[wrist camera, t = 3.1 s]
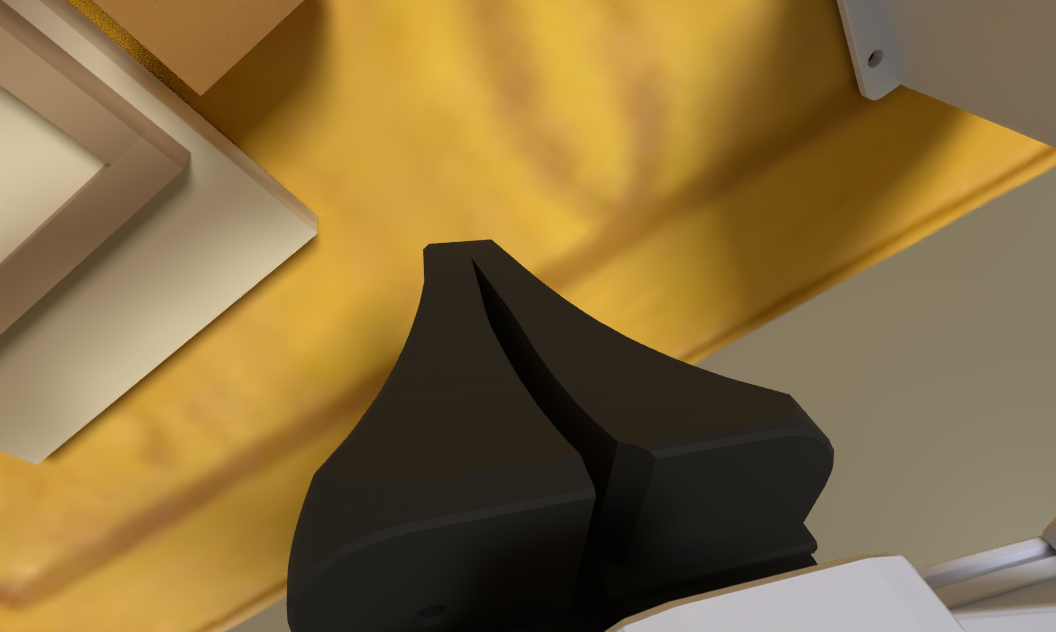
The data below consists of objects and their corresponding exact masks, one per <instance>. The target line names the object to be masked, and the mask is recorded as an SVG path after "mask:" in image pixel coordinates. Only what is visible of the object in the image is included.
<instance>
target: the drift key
mask: <svg viewBox="0 0 1056 632" xmlns="http://www.w3.org/2000/svg"><path fill="white" fill-rule="evenodd" d="M92 1H93V2H94V3H96V4H97V5H98V6H99V7H100V8H101V9H102V10H103V11H105V12H106V13H107V14H108V15H109V16H110V17H111V18H113V19H114V20H115V21H116V22H117V23H118V24H119V25H120V26H122V27H123V28H124V29H125V30H126V31H127V32H128V33H129V34H131V35H132V36H133V37H134V38H135V39H136V40H137V41H139V42H140V43H141V44H142V45H143V46H144V47H145V48H146V49H148V50H149V51H150V52H151V53H152V54H153V55H154V56H156V57H157V58H158V59H159V60H160V61H161V62H162V63H163V64H165V65H166V66H167V67H168V68H169V69H170V70H171V71H172V72H174V73H175V74H176V75H177V76H178V77H179V78H180V79H182V80H183V81H184V82H185V83H186V84H187V85H188V86H189V87H191V88H192V89H193V90H194V91H195V92H196V93H197V94H198V95H200V96H201V95H203V94H204V93H205V92H206V91H207V90H208V89H209V88H210V87H211V86H212V85H213V84H214V83H215V82H217V81H218V80H219V79H220V78H221V77H222V76H223V75H224V74H225V73H226V72H227V71H228V70H229V69H231V68H232V67H233V66H234V65H235V64H236V63H237V62H238V61H239V60H240V59H241V58H242V57H243V56H245V55H246V54H247V53H248V52H249V51H250V50H251V49H252V48H253V47H254V46H255V45H256V44H258V43H259V42H260V41H261V40H262V39H263V38H264V37H265V36H266V35H267V34H268V33H269V32H270V31H272V30H273V29H274V28H275V27H276V26H277V25H278V24H279V23H280V22H281V21H282V20H283V19H284V18H286V17H287V16H288V15H289V14H290V13H291V12H292V11H293V10H294V9H295V8H296V7H297V6H298V5H300V4H301V3H302V2H303V1H304V0H92Z"/></svg>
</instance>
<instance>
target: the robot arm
mask: <svg viewBox="0 0 1056 632" xmlns="http://www.w3.org/2000/svg"><path fill="white" fill-rule="evenodd" d="M837 4H838V7H839V11H840V15H841V19H842V23H843V27H844V31H845V35H846V39H847V43H848V47H849V51H850V55H851V59H852V63H853V67H854V71H855V75H856V79H857V83H858V87H859V91H860V93H861V95H862V96H864V97H866V98H868V99H870V100H878V99H880V98H882V97H884V96H885V95H886V94H888V93H889V92H891V91H892V90H893V89H895V88H896V87H898V86H899V85H900V84H901V85H903V86H905V87H908V88H910V89H913V90H915V91H918V92H920V93H922V94H925V95H927V96H930V97H932V98H935V99H937V100H940V101H942V102H944V103H947V104H949V105H952V106H954V107H957V108H959V109H962V110H964V111H966V112H969V113H971V114H974V115H976V116H979V117H981V118H984V119H986V120H989V121H991V122H993V123H996V124H998V125H1001V126H1003V127H1006V128H1008V129H1011V130H1013V131H1015V132H1018V133H1020V134H1023V135H1025V136H1028V137H1030V138H1033V139H1035V140H1037V141H1040V142H1042V143H1045V144H1047V145H1050V146H1052V147H1055V148H1056V0H837ZM873 52H874V56H873V58H872V59H871V60H870V61H869V62H868V59H869V57H870V55H871V54H872V53H873ZM423 258H424V285H423V290H422V295H421V299H420V303H419V307H418V310H417V313H416V316H415V319H414V322H413V325H412V328H411V331H410V334H409V336H408V338H407V341H406V343H405V346H404V348H403V350H402V352H401V354H400V356H399V358H398V361H397V363H396V365H395V366H394V368H393V370H392V372H391V374H390V375H389V377H388V379H387V381H386V383H385V384H384V386H383V388H382V389H381V391H380V392H379V394H378V396H377V397H376V399H375V400H374V402H373V403H372V404H371V406H370V407H369V409H368V410H367V411H366V413H365V414H364V415H363V417H362V418H361V420H360V421H359V422H358V424H357V425H356V427H355V428H354V429H353V431H352V432H351V433H350V434H349V436H348V437H347V438H346V439H345V440H344V441H343V443H342V444H341V445H340V446H339V447H338V448H337V449H336V450H335V451H334V453H333V454H332V455H331V456H330V457H329V458H328V459H327V460H326V462H325V463H324V464H323V465H322V466H321V467H320V468H319V469H318V470H317V471H316V473H315V474H314V476H313V479H312V481H311V484H310V487H309V490H308V492H307V495H306V498H305V501H304V504H303V507H302V510H301V513H300V516H299V519H298V523H297V526H296V530H295V534H294V538H293V543H292V548H291V553H290V558H289V565H288V578H287V618H288V624H289V627H290V630H291V632H1056V518H1055V519H1054V520H1053V521H1052V522H1051V523H1050V524H1049V525H1048V526H1047V527H1046V529H1045V530H1044V531H1043V535H1042V536H1038V537H1034V538H1031V539H1027V540H1023V541H1020V542H1016V543H1012V544H1009V545H1005V546H1001V547H997V548H993V549H989V550H985V551H982V552H978V553H974V554H970V555H967V556H963V557H959V558H955V559H952V560H948V561H944V562H940V563H936V564H933V565H929V566H925V567H921V568H918V569H914V567H913V566H912V565H911V564H910V563H909V562H908V561H907V560H906V559H905V558H904V557H903V556H902V555H897V554H892V553H875V554H862V555H855V556H851V557H847V558H843V559H839V560H835V561H831V562H827V563H823V564H819V565H818V564H817V563H816V561H815V560H814V558H813V557H812V556H811V554H812V553H815V551H816V550H817V542H816V540H815V539H814V537H813V536H812V535H811V533H810V532H809V531H808V529H807V528H806V526H805V525H804V523H803V522H804V521H805V519H806V517H807V515H808V514H809V512H810V510H811V509H812V507H813V505H814V504H815V502H816V500H817V499H818V497H819V495H820V493H821V492H822V490H823V488H824V487H825V485H826V483H827V481H828V478H829V476H830V474H831V471H832V468H833V459H834V449H833V447H832V445H831V443H830V441H829V439H828V438H827V437H826V435H825V434H824V433H823V432H822V431H821V430H820V429H819V427H818V426H817V425H816V424H815V423H814V422H813V420H812V419H811V418H810V417H809V416H808V415H807V414H806V412H805V411H804V410H803V409H802V408H801V407H800V405H799V404H798V403H797V402H796V401H795V400H794V399H793V398H792V397H791V396H790V395H789V394H785V393H782V392H778V391H774V390H771V389H767V388H763V387H759V386H756V385H752V384H748V383H745V382H741V381H737V380H734V379H730V378H727V377H724V376H721V375H718V374H715V373H712V372H709V371H707V370H704V369H701V368H698V367H695V366H692V365H690V364H687V363H685V362H682V361H679V360H677V359H674V358H672V357H669V356H667V355H665V354H663V353H660V352H658V351H656V350H654V349H652V348H649V347H647V346H645V345H643V344H640V343H638V342H636V341H634V340H632V339H630V338H628V337H626V336H624V335H622V334H621V333H619V332H617V331H615V330H614V329H612V328H610V327H608V326H606V325H605V324H603V323H601V322H599V321H598V320H596V319H594V318H593V317H591V316H589V315H588V314H586V313H585V312H583V311H582V310H580V309H579V308H577V307H576V306H574V305H573V304H571V303H570V302H568V301H567V300H566V299H564V298H563V297H561V296H560V295H559V294H557V293H556V292H555V291H553V290H552V289H550V288H549V287H548V286H547V285H545V284H544V283H543V282H541V281H540V280H539V279H538V278H536V277H535V276H534V275H533V274H532V273H530V272H529V271H528V270H527V269H525V268H524V267H523V266H522V265H521V264H520V263H518V262H517V261H516V260H515V259H514V258H513V257H511V256H510V255H509V254H508V253H507V252H506V251H504V250H503V249H502V248H501V247H500V246H499V245H497V244H496V243H495V242H494V241H493V240H477V241H463V242H449V243H435V244H428V245H427V246H426V247H425V248H424V249H423Z"/></svg>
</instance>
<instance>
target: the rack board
mask: <svg viewBox="0 0 1056 632" xmlns="http://www.w3.org/2000/svg"><path fill="white" fill-rule="evenodd" d="M316 234H318V216H317V215H316V214H314V213H313V212H312V211H311V210H310V209H309V208H307V207H306V206H305V205H304V204H303V203H302V202H300V201H299V200H298V199H297V198H296V197H295V196H293V195H292V194H291V193H290V192H289V191H288V190H286V189H285V188H284V187H283V186H282V185H281V184H280V183H278V182H277V181H276V180H275V179H274V178H273V177H271V176H270V175H269V174H268V173H267V172H266V171H264V170H263V169H262V168H261V167H260V166H259V165H257V164H256V163H255V162H254V161H253V160H252V159H251V158H249V157H248V156H247V155H246V154H245V153H244V152H242V151H241V150H240V149H239V148H238V147H237V146H235V145H234V144H233V143H232V142H231V141H230V140H228V139H227V138H226V137H225V136H224V135H223V134H221V133H220V132H219V131H218V130H217V129H216V128H215V127H213V126H212V125H211V124H210V123H209V122H208V121H206V120H205V119H204V118H203V117H202V116H201V115H199V114H198V113H197V112H196V111H195V110H194V109H192V108H191V107H190V106H189V105H188V104H187V103H186V102H184V101H183V100H182V99H181V98H180V97H179V96H177V95H176V94H175V93H174V92H173V91H172V90H170V89H169V88H168V87H167V86H166V85H165V84H163V83H162V82H161V81H160V80H159V79H158V78H156V77H155V76H154V75H153V74H152V73H151V72H150V71H148V70H147V69H146V68H145V67H144V66H143V65H141V64H140V63H139V62H138V61H137V60H136V59H134V58H133V57H132V56H131V55H130V54H129V53H127V52H126V51H125V50H124V49H123V48H122V47H121V46H119V45H118V44H117V43H116V42H115V41H114V40H112V39H111V38H110V37H109V36H108V35H107V34H105V33H104V32H103V31H102V30H101V29H100V28H98V27H97V26H96V25H95V24H94V23H93V22H92V21H90V20H89V19H88V18H87V17H86V16H85V15H83V14H82V13H81V12H80V11H79V10H78V9H76V8H75V7H74V6H73V5H72V4H71V3H69V2H68V1H67V0H0V451H1V452H4V453H7V454H9V455H12V456H15V457H17V458H20V459H22V460H25V461H28V462H30V463H33V464H36V465H38V464H39V463H40V462H41V461H43V460H44V459H45V458H46V457H47V456H49V455H50V454H51V453H52V452H53V451H55V450H56V449H57V448H58V447H60V446H61V445H62V444H63V443H64V442H66V441H67V440H68V439H69V438H70V437H72V436H73V435H74V434H75V433H76V432H78V431H79V430H80V429H81V428H83V427H84V426H85V425H86V424H87V423H89V422H90V421H91V420H92V419H93V418H95V417H96V416H97V415H98V414H100V413H101V412H102V411H103V410H104V409H106V408H107V407H108V406H109V405H110V404H112V403H113V402H114V401H115V400H116V399H118V398H119V397H120V396H121V395H123V394H124V393H125V392H126V391H127V390H129V389H130V388H131V387H132V386H133V385H135V384H136V383H137V382H138V381H139V380H141V379H142V378H143V377H144V376H146V375H147V374H148V373H149V372H150V371H152V370H153V369H154V368H155V367H156V366H158V365H159V364H160V363H161V362H163V361H164V360H165V359H166V358H167V357H169V356H170V355H171V354H172V353H173V352H175V351H176V350H177V349H178V348H179V347H181V346H182V345H183V344H184V343H186V342H187V341H188V340H189V339H190V338H192V337H193V336H194V335H195V334H196V333H198V332H199V331H200V330H201V329H202V328H204V327H205V326H206V325H207V324H209V323H210V322H211V321H212V320H213V319H215V318H216V317H217V316H218V315H219V314H221V313H222V312H223V311H224V310H226V309H227V308H228V307H229V306H230V305H232V304H233V303H234V302H235V301H236V300H238V299H239V298H240V297H241V296H242V295H244V294H245V293H246V292H247V291H249V290H250V289H251V288H252V287H253V286H255V285H256V284H257V283H258V282H259V281H261V280H262V279H263V278H264V277H265V276H267V275H268V274H269V273H270V272H272V271H273V270H274V269H275V268H276V267H278V266H279V265H280V264H281V263H282V262H284V261H285V260H286V259H287V258H289V257H290V256H291V255H292V254H293V253H295V252H296V251H297V250H298V249H299V248H301V247H302V246H303V245H304V244H305V243H307V242H308V241H309V240H310V239H312V238H313V237H314V236H315V235H316Z"/></svg>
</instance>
